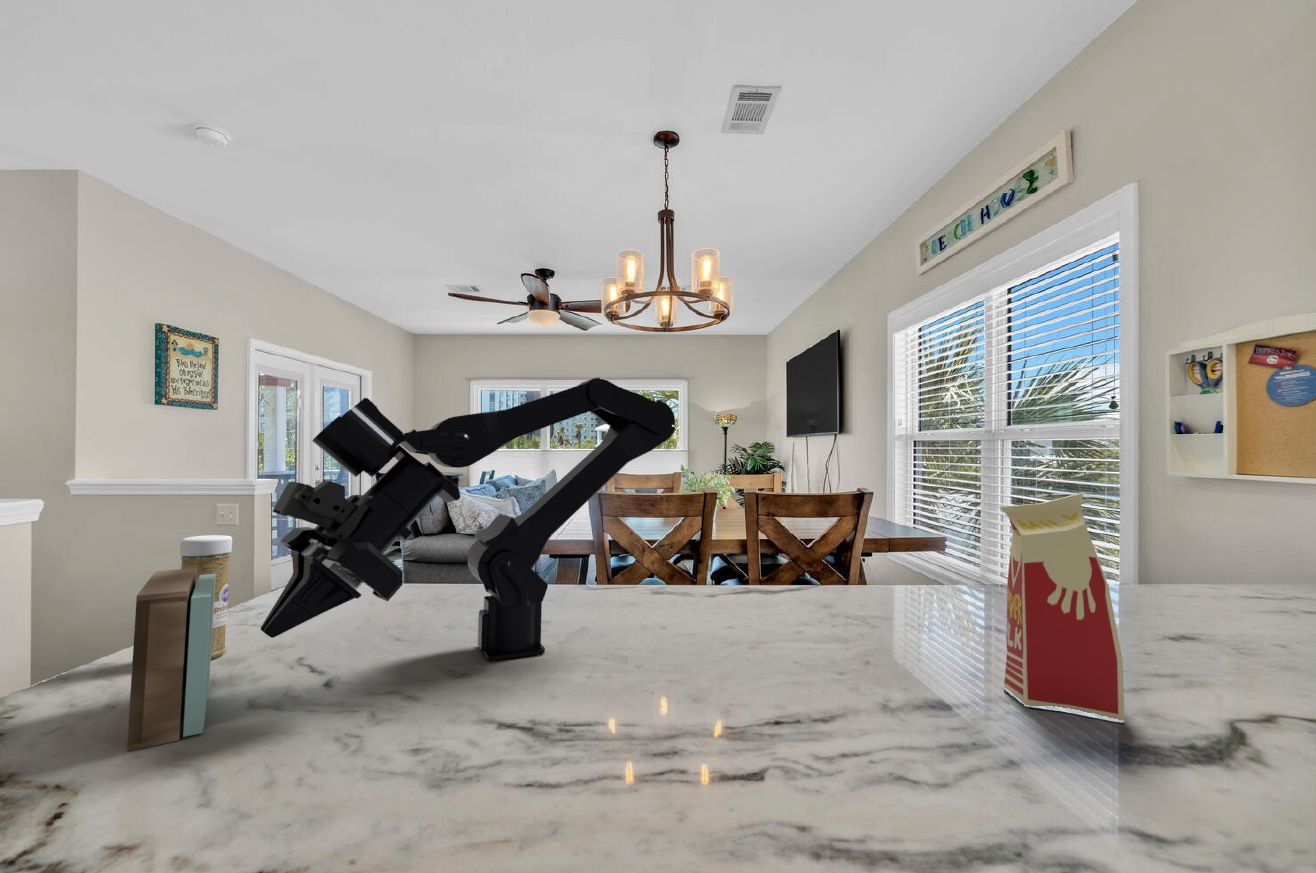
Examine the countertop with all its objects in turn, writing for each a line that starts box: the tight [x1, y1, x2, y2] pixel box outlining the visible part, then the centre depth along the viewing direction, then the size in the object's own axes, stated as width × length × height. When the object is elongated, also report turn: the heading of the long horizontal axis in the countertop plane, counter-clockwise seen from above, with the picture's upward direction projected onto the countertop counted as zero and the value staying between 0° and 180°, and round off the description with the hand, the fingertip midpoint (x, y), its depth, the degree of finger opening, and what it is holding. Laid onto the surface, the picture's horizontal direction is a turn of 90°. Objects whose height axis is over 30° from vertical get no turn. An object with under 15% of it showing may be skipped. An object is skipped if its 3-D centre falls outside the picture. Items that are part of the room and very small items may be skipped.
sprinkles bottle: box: [179, 534, 233, 660], centre depth 63 cm, size 5×5×14 cm
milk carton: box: [998, 492, 1125, 721], centre depth 55 cm, size 9×9×20 cm
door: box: [182, 574, 216, 738], centre depth 50 cm, size 1×12×11 cm, turn 37°
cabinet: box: [126, 568, 197, 752], centre depth 48 cm, size 3×12×12 cm, turn 37°
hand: (266, 633), depth 51 cm, fingers closed
